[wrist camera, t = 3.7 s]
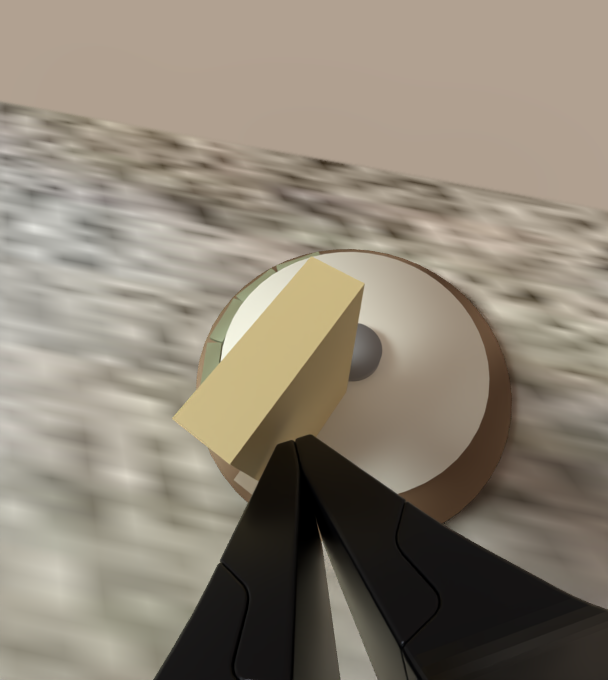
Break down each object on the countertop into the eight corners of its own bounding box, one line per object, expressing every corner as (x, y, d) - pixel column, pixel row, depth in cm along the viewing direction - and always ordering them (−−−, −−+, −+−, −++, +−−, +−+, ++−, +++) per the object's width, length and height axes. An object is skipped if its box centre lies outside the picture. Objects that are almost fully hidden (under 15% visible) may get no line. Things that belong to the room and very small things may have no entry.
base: (547, 337, 17) (561, 326, 16) (413, 635, 12) (421, 646, 11) (310, 224, 21) (309, 209, 20) (139, 412, 16) (128, 406, 15)
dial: (516, 334, 16) (683, 173, 9) (394, 582, 12) (507, 684, 5) (316, 237, 19) (311, 58, 12) (168, 406, 15) (20, 298, 8)
